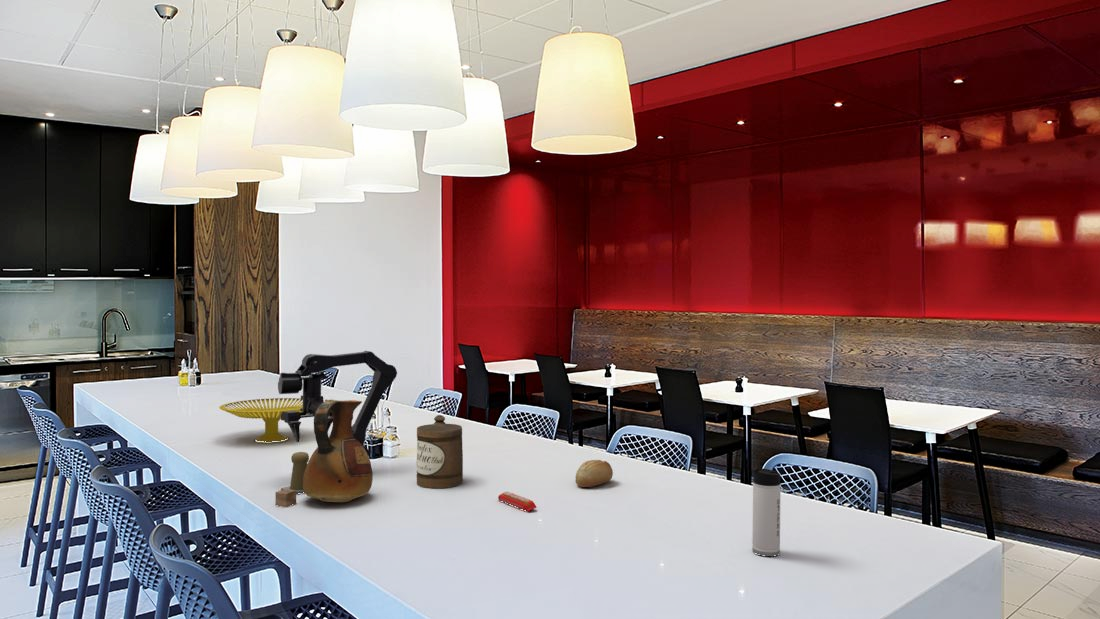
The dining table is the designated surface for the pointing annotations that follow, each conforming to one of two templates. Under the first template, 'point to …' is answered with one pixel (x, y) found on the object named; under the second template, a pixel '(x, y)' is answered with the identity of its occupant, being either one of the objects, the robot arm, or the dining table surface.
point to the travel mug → (766, 512)
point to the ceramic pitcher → (337, 457)
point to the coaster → (290, 489)
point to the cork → (298, 470)
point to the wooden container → (439, 454)
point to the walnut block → (285, 497)
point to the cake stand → (265, 414)
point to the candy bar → (517, 501)
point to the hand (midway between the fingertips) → (311, 440)
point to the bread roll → (593, 473)
